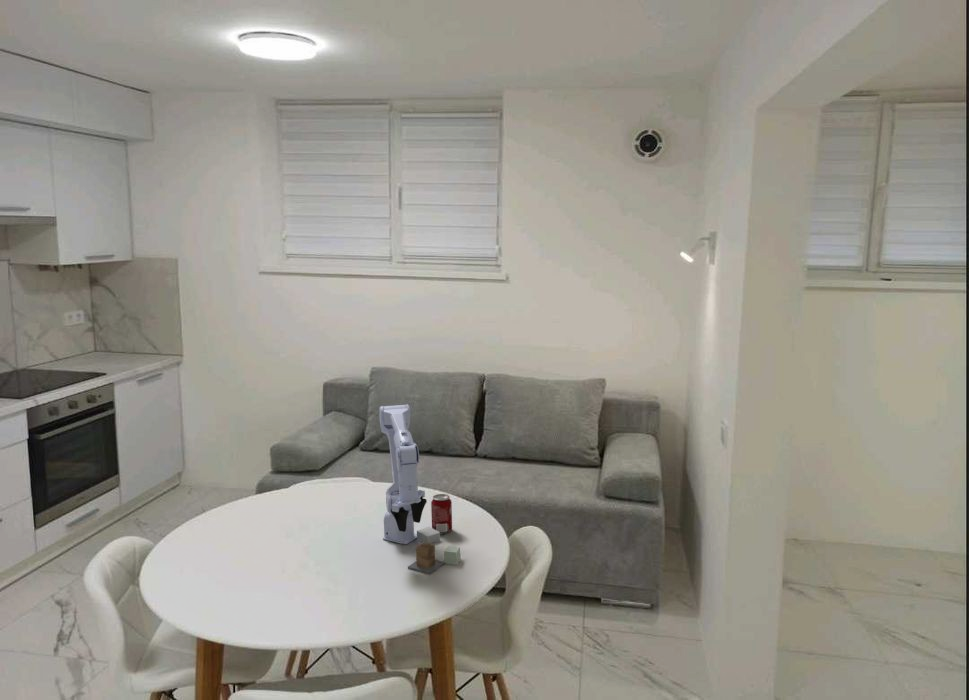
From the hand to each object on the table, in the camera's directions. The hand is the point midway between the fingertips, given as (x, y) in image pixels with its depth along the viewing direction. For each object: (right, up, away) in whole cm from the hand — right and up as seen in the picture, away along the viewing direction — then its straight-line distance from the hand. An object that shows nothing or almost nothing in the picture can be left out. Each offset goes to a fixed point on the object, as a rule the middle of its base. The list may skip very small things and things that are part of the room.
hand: (409, 526), depth 228 cm
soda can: (+9, -7, +21) cm, 23 cm away
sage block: (+13, -10, -2) cm, 17 cm away
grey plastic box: (+5, -8, +14) cm, 17 cm away
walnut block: (+5, -10, -5) cm, 13 cm away
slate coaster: (+6, -11, -5) cm, 13 cm away
